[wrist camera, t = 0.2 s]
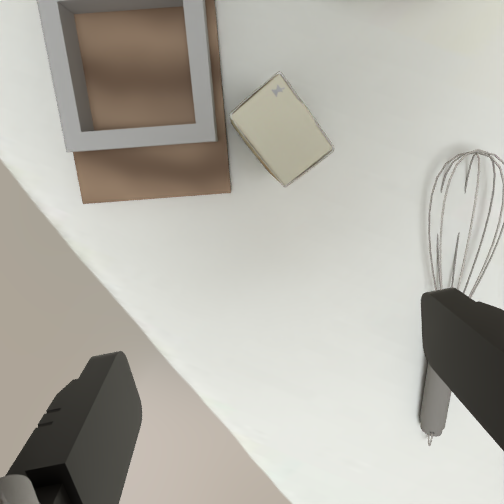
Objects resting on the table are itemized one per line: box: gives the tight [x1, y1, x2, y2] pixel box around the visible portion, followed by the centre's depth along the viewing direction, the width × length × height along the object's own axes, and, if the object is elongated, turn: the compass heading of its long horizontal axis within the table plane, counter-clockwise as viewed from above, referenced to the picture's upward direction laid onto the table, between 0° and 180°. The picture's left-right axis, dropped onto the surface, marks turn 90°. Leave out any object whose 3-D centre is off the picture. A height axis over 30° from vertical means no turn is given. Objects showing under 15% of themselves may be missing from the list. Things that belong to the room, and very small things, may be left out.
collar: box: [37, 0, 218, 152], centre depth 32 cm, size 12×12×3 cm
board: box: [73, 0, 231, 204], centre depth 34 cm, size 22×14×2 cm, turn 4°
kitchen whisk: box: [420, 149, 504, 446], centre depth 39 cm, size 6×34×6 cm, turn 2°
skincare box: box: [230, 72, 334, 187], centre depth 30 cm, size 6×4×12 cm
